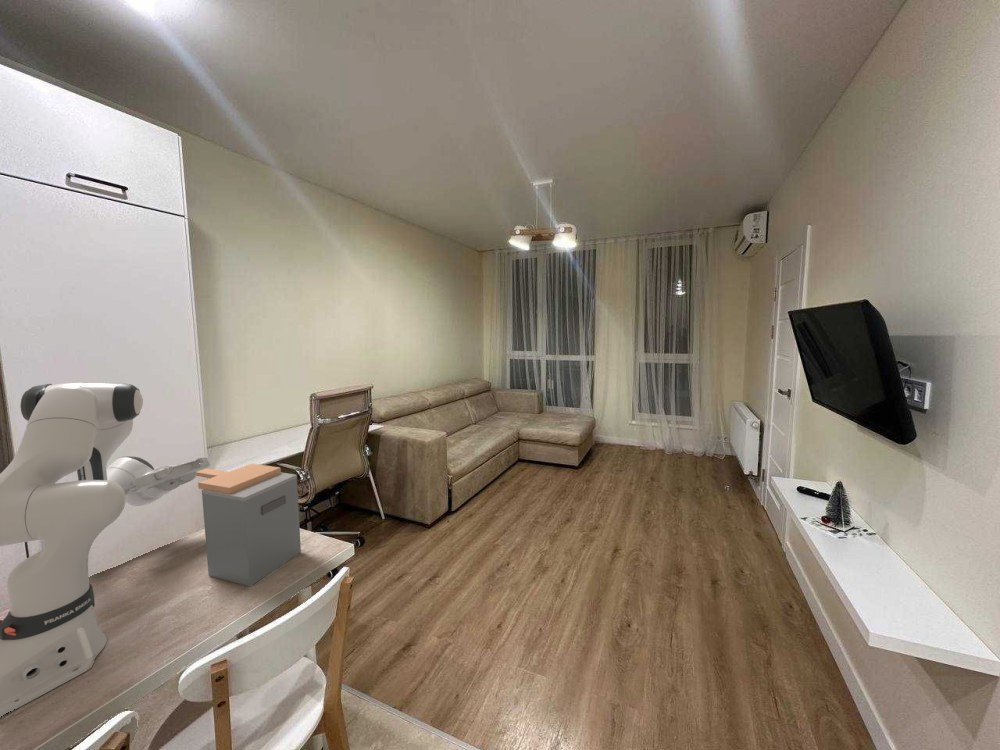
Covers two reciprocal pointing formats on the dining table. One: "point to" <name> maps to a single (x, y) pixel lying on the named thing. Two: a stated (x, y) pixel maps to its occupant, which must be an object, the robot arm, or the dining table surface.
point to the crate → (252, 529)
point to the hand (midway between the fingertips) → (186, 464)
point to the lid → (235, 477)
